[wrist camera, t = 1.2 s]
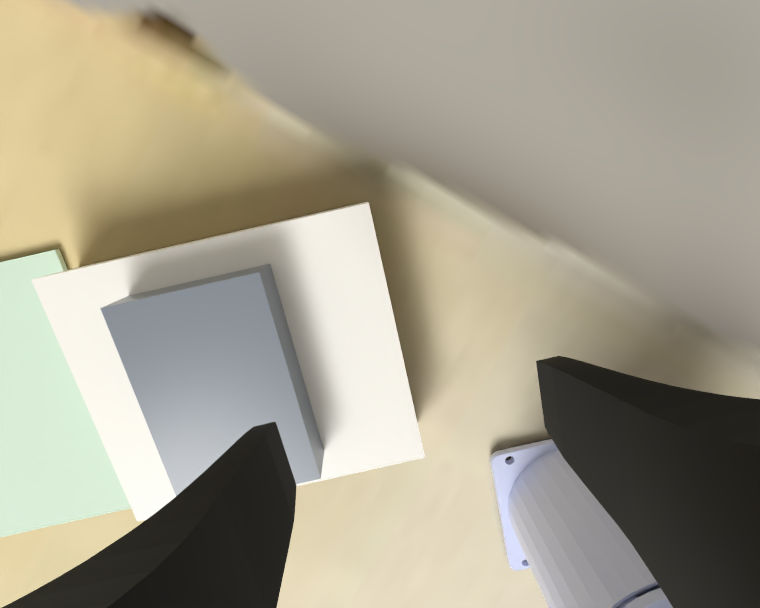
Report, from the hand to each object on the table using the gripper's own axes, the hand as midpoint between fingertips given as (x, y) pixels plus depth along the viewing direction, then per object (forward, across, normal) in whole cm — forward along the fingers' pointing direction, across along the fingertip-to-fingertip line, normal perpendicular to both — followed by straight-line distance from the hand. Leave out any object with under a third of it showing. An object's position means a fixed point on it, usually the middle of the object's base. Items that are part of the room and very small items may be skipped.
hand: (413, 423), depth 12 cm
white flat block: (+10, +7, 0) cm, 12 cm away
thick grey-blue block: (+8, +7, 0) cm, 10 cm away
